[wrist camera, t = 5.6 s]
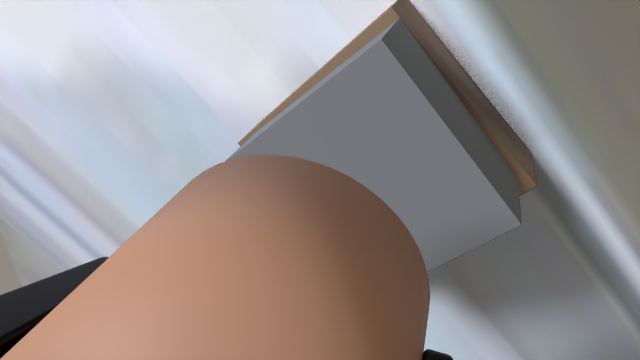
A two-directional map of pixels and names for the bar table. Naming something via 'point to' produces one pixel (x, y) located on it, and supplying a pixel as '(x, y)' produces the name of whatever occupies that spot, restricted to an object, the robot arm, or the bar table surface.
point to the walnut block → (452, 72)
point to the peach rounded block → (251, 276)
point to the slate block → (402, 145)
